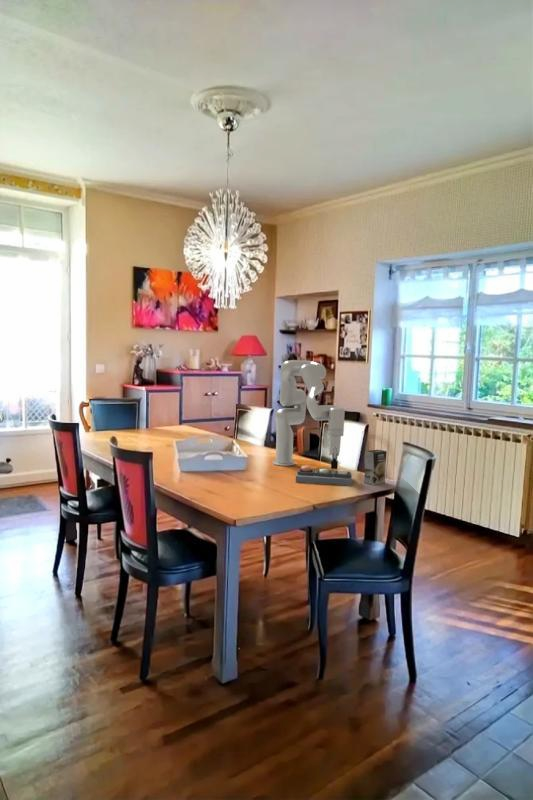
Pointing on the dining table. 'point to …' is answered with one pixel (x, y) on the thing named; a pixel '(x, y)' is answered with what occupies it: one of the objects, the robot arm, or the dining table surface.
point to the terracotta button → (306, 468)
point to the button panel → (323, 477)
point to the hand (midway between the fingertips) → (334, 468)
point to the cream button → (342, 472)
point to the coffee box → (375, 467)
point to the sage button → (323, 470)
